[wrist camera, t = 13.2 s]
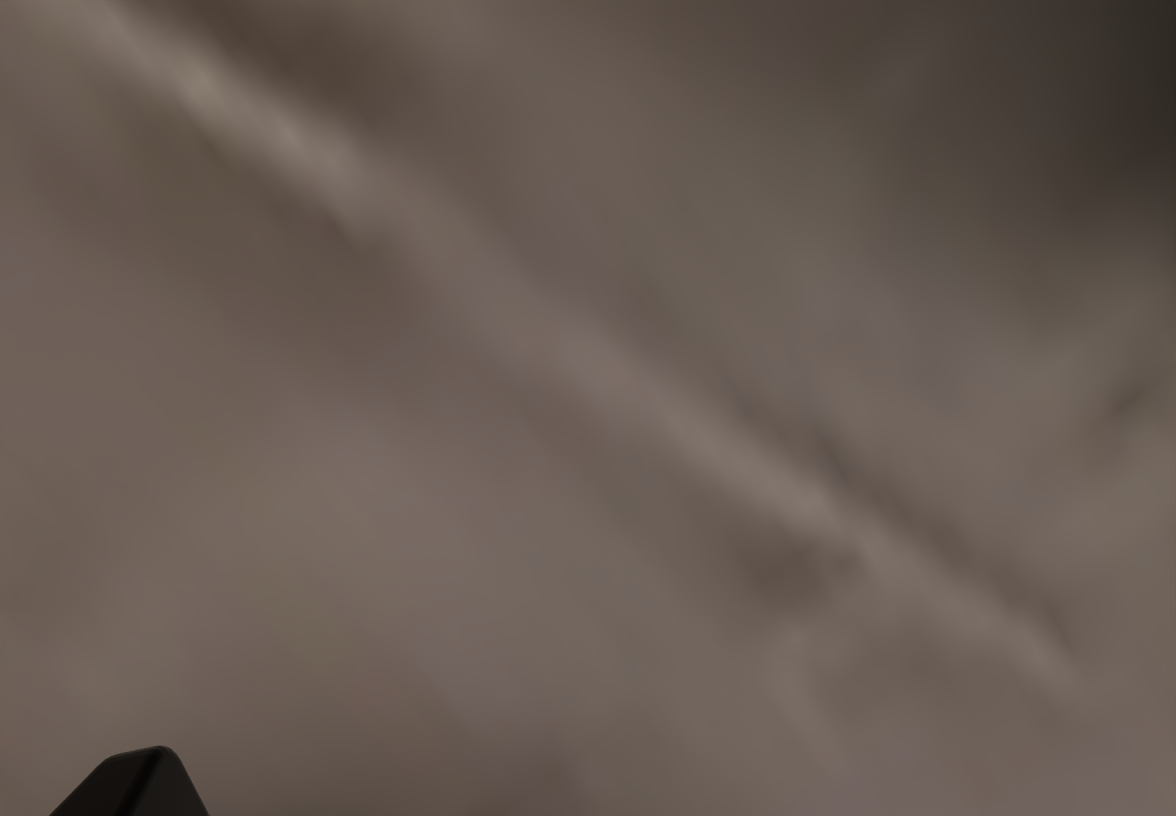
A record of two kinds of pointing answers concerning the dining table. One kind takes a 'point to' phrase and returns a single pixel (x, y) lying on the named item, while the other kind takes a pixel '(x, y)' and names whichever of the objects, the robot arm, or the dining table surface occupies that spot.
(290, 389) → the dining table surface
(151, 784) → the robot arm
